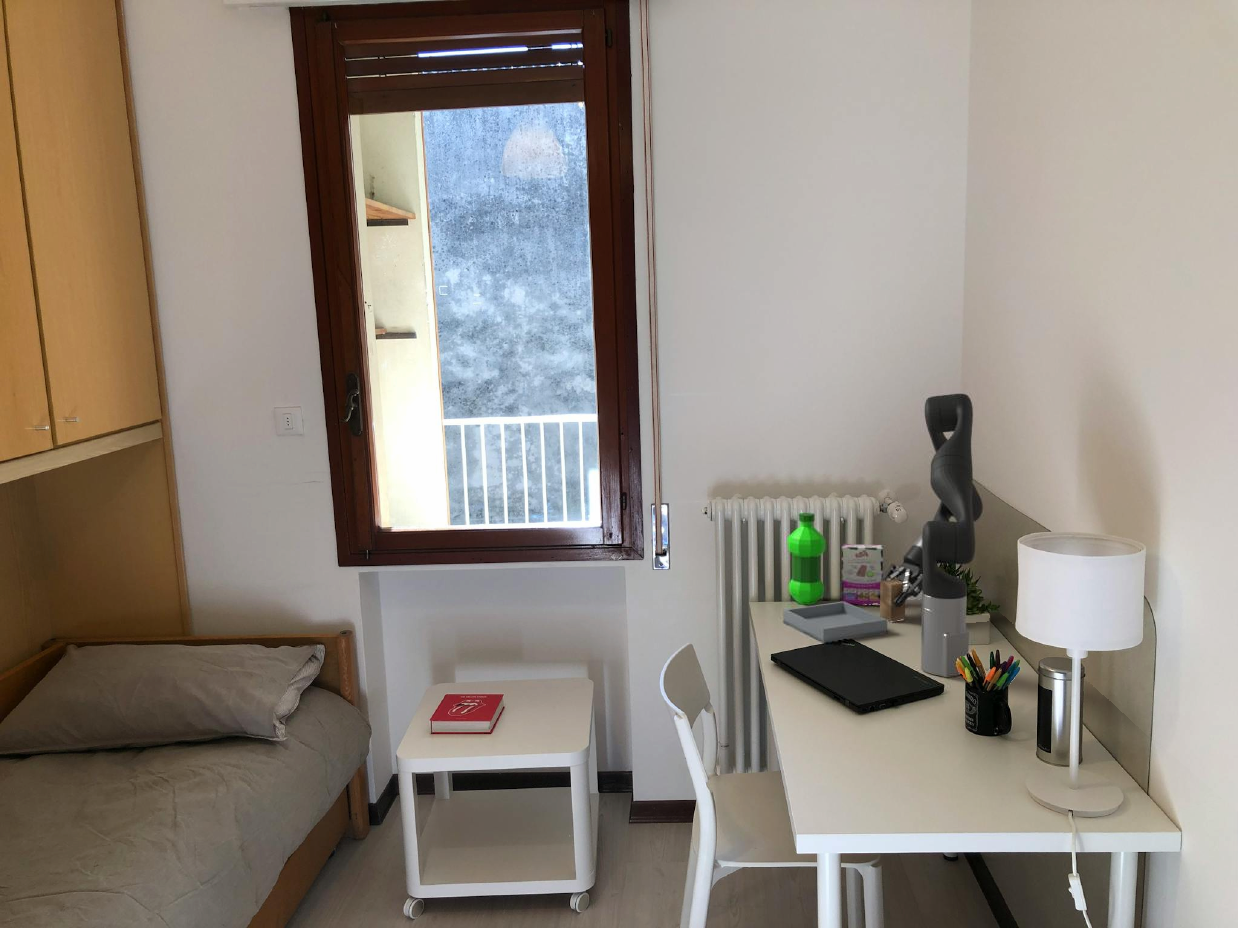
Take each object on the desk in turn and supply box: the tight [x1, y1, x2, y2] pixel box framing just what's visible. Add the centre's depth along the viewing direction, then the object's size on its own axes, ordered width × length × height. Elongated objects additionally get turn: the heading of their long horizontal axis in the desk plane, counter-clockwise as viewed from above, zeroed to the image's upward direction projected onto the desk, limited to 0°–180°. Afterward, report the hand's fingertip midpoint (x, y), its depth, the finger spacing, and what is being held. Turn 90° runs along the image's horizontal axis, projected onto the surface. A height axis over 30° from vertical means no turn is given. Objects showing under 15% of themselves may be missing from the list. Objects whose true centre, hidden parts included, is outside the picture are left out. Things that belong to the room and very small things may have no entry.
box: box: [782, 601, 888, 644], centre depth 239 cm, size 19×19×4 cm
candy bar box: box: [841, 543, 884, 606], centre depth 261 cm, size 11×5×16 cm, turn 73°
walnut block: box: [879, 578, 906, 622], centre depth 245 cm, size 4×4×10 cm
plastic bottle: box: [787, 512, 827, 605], centre depth 263 cm, size 10×10×25 cm
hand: (887, 601), depth 245 cm, fingers open, 6 cm apart
